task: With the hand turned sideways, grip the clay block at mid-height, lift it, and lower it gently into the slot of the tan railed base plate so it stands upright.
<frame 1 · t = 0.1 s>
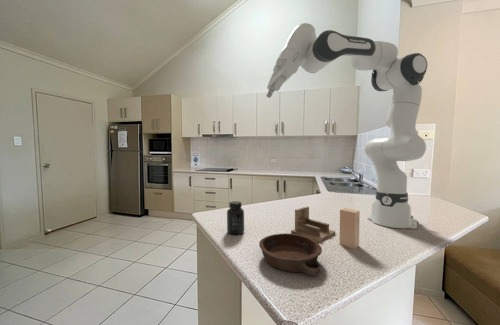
hand: (271, 93, 80), 54 cm above the counter, fingers open, 8 cm apart
dish: (289, 261, 62), on the counter
supplement bottle: (235, 232, 84), on the counter
clay block: (349, 245, 71), on the counter
tan railed base plate: (313, 233, 82), on the counter
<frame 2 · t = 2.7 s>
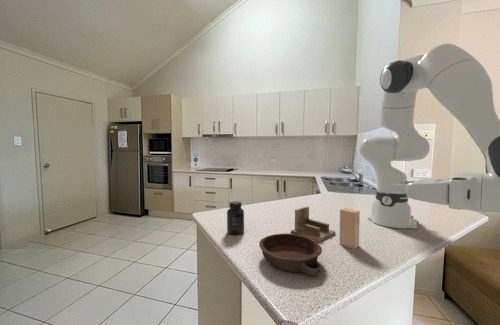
hand: (395, 184, 61), 22 cm above the counter, fingers open, 8 cm apart
nothing on the counter moved.
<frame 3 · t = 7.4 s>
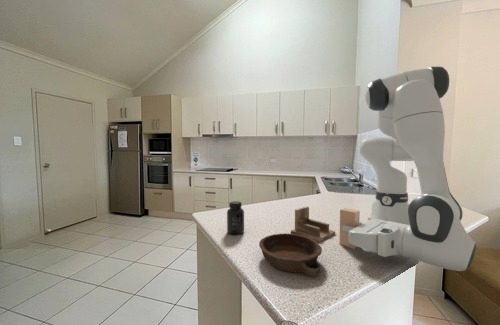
hand: (346, 225, 72), 7 cm above the counter, fingers closed on clay block, 3 cm apart
clay block: (349, 245, 71), on the counter, touching gripper
everything else where it was.
when the fingers open (9 cm above the counter, at t = 13.0 s): clay block drops 1 cm, resting on tan railed base plate.
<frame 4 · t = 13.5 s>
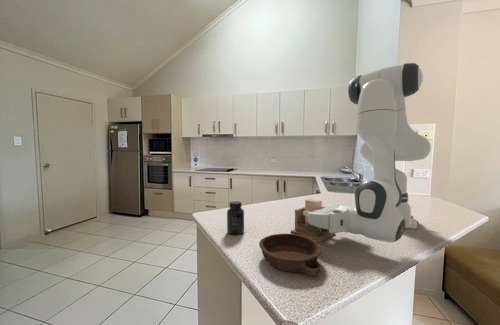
hand: (311, 210, 82), 9 cm above the counter, fingers open, 8 cm apart
clay block: (313, 230, 82), point 1 cm above the counter, touching tan railed base plate
everything else where it was.
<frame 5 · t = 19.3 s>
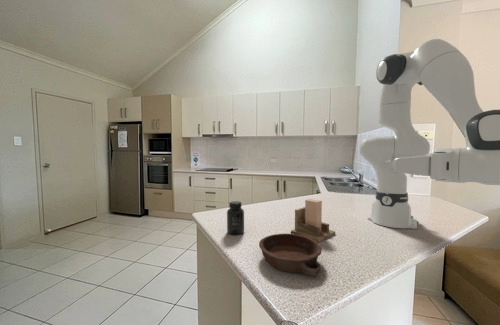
hand: (385, 163, 66), 28 cm above the counter, fingers open, 8 cm apart
nothing on the counter moved.
at the end: clay block 0.2 cm off-centre on the tan railed base plate, point 1.0 cm above the tan railed base plate's base; clay block tilted 0°; the gripper is holding nothing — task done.
